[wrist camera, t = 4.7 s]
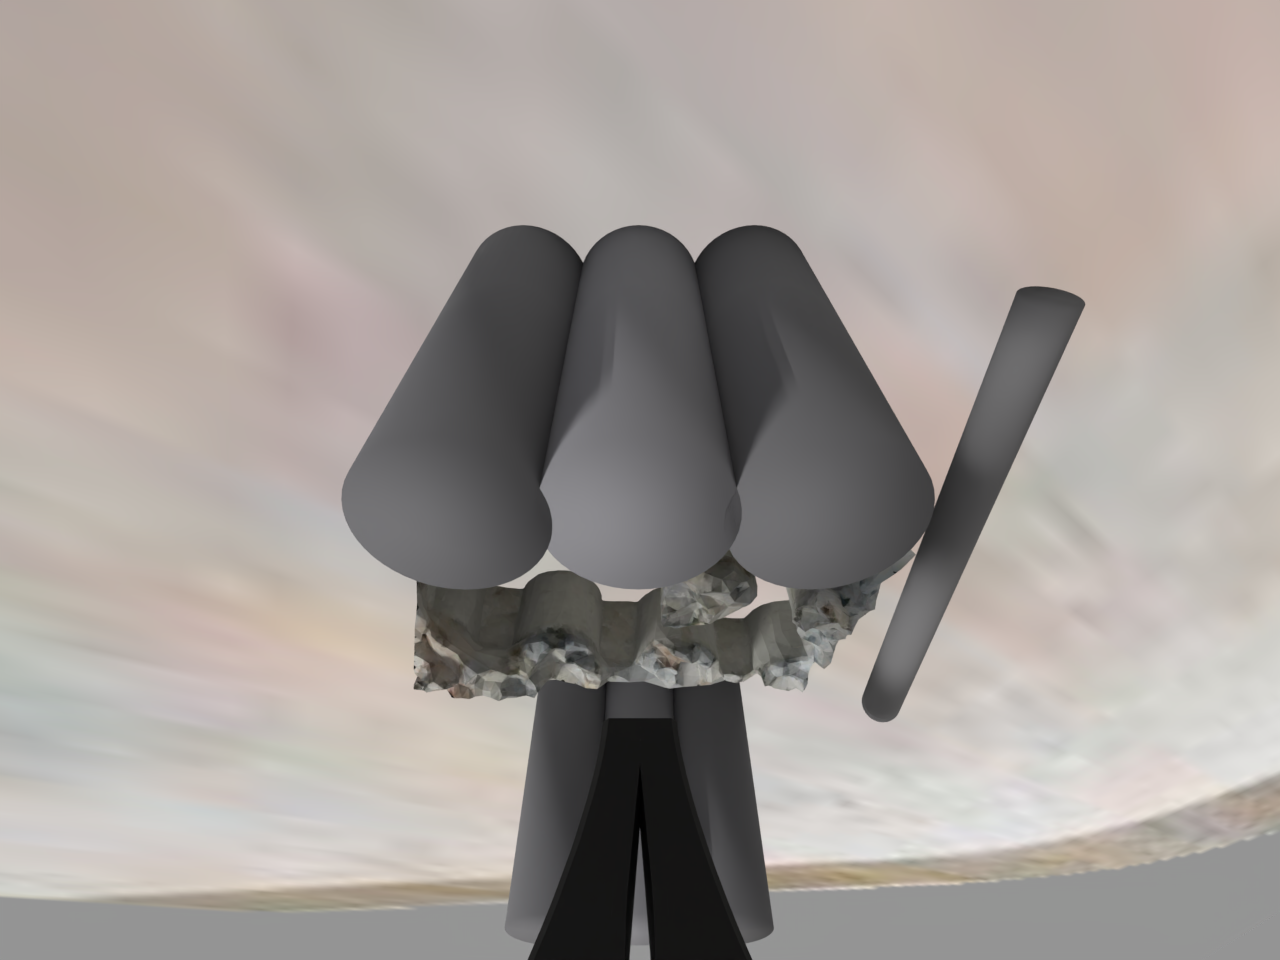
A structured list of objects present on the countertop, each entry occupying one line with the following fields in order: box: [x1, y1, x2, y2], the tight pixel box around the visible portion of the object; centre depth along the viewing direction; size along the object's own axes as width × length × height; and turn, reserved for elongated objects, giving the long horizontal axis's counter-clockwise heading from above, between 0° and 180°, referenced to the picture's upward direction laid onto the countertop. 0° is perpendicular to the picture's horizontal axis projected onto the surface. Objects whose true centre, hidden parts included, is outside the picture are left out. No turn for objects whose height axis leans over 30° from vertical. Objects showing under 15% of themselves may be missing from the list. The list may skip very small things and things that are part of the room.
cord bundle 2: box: [341, 225, 935, 590], centre depth 10 cm, size 2×7×7 cm, turn 90°
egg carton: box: [414, 550, 916, 701], centre depth 16 cm, size 11×8×4 cm
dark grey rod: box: [862, 286, 1085, 722], centre depth 17 cm, size 15×1×1 cm, turn 0°
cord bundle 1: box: [505, 680, 774, 945], centre depth 19 cm, size 2×7×7 cm, turn 90°
